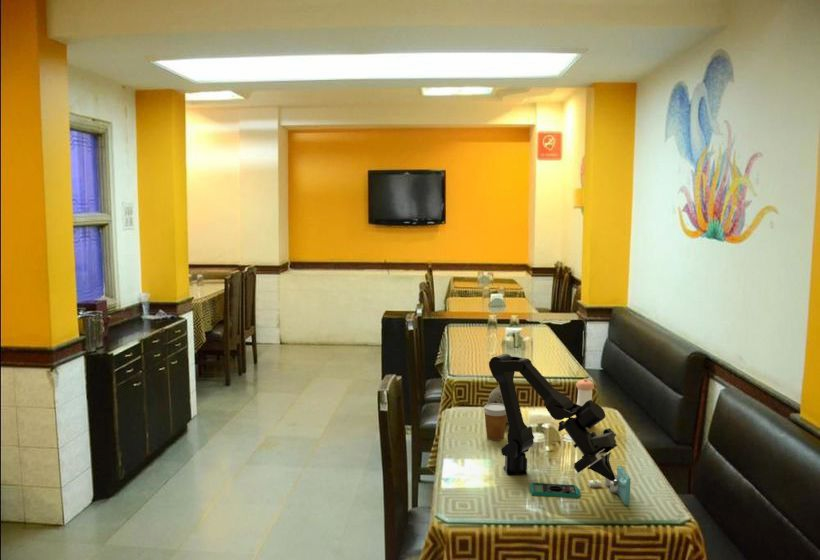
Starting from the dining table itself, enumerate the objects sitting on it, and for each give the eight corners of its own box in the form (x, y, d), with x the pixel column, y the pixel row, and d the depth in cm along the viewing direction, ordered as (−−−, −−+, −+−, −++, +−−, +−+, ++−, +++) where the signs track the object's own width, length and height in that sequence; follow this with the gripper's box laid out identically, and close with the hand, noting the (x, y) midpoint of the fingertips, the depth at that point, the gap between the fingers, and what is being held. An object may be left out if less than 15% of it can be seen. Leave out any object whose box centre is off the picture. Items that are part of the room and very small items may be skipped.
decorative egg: (508, 429, 259) (509, 392, 257) (482, 424, 265) (482, 387, 263) (521, 421, 268) (521, 385, 266) (494, 416, 275) (495, 381, 273)
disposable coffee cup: (512, 436, 252) (512, 405, 250) (501, 443, 244) (502, 412, 242) (489, 431, 257) (489, 401, 255) (478, 438, 249) (478, 408, 247)
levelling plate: (601, 506, 195) (602, 493, 194) (586, 486, 208) (586, 474, 207) (634, 505, 195) (635, 492, 195) (616, 485, 209) (617, 473, 208)
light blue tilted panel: (608, 488, 204) (609, 461, 203) (622, 488, 204) (623, 462, 203) (619, 506, 192) (620, 478, 191) (634, 506, 192) (636, 478, 191)
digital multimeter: (581, 503, 198) (581, 494, 197) (530, 500, 200) (531, 491, 199) (578, 492, 205) (578, 483, 205) (529, 489, 207) (529, 480, 207)
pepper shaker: (595, 428, 260) (597, 381, 257) (576, 428, 260) (578, 381, 257) (590, 422, 267) (592, 376, 265) (572, 422, 267) (574, 376, 265)
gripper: (585, 430, 190) (620, 477, 185) (612, 414, 204) (645, 457, 199) (559, 449, 196) (592, 495, 191) (587, 432, 210) (619, 475, 205)
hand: (613, 480), depth 196 cm, fingers closed
